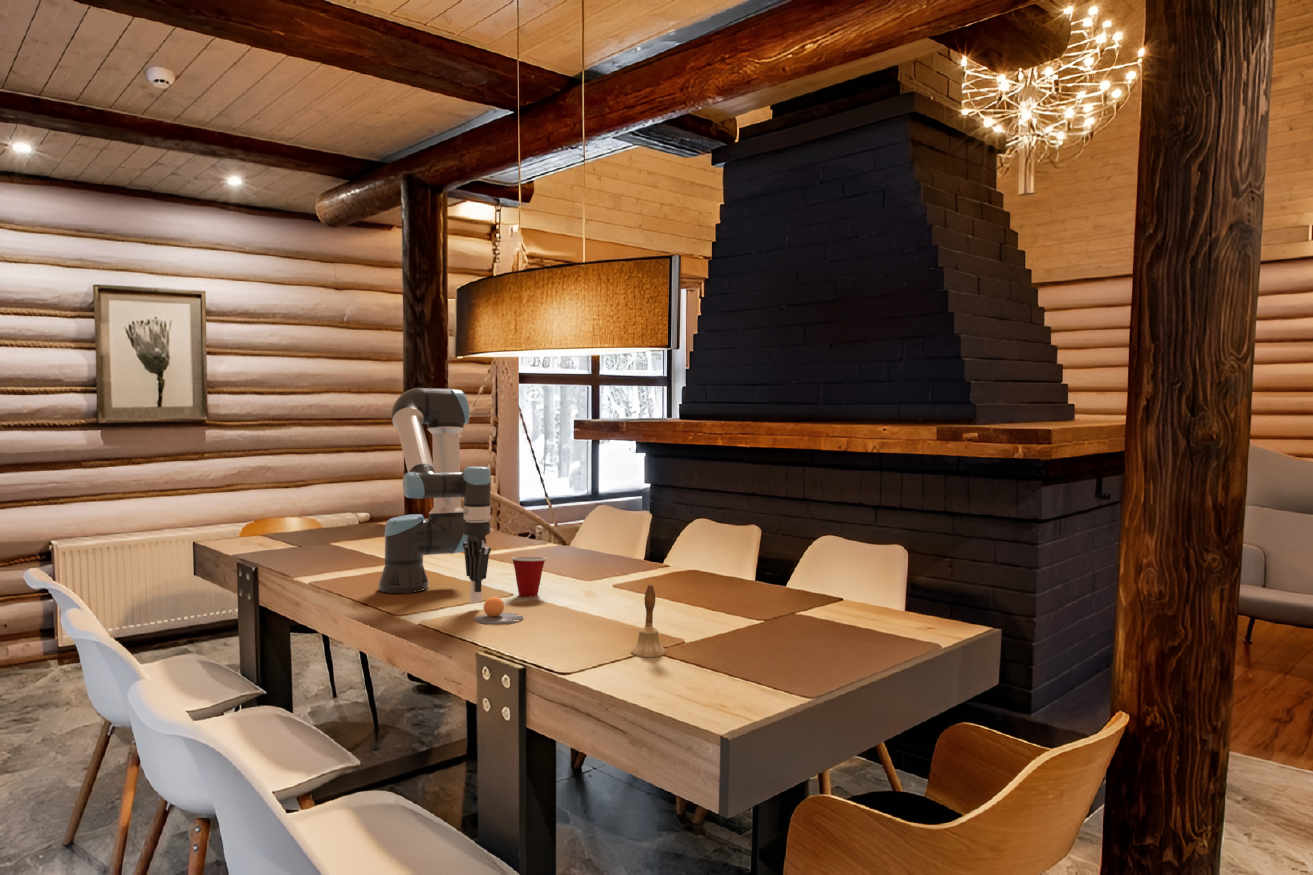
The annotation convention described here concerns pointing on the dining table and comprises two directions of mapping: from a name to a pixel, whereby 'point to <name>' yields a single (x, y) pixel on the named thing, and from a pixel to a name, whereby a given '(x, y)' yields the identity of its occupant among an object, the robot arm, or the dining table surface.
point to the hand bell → (648, 631)
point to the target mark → (499, 618)
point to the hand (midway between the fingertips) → (475, 602)
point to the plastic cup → (528, 574)
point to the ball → (493, 606)
